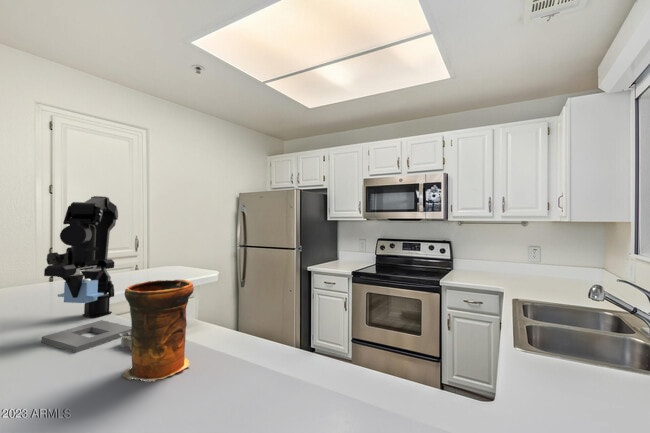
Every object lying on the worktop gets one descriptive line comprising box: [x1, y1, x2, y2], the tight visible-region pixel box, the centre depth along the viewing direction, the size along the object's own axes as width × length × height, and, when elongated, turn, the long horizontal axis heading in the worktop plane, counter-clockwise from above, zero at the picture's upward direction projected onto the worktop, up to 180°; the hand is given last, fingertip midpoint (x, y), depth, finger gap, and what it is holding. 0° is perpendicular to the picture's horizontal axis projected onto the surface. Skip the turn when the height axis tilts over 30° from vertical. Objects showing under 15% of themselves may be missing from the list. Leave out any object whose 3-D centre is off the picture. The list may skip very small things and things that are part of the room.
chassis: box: [40, 319, 132, 353], centre depth 90 cm, size 16×16×2 cm
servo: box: [57, 278, 104, 304], centre depth 92 cm, size 4×11×7 cm, turn 86°
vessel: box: [122, 279, 195, 383], centre depth 73 cm, size 14×14×20 cm
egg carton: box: [119, 331, 131, 350], centre depth 86 cm, size 11×8×4 cm
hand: (81, 295), depth 92 cm, fingers closed on servo, 4 cm apart
